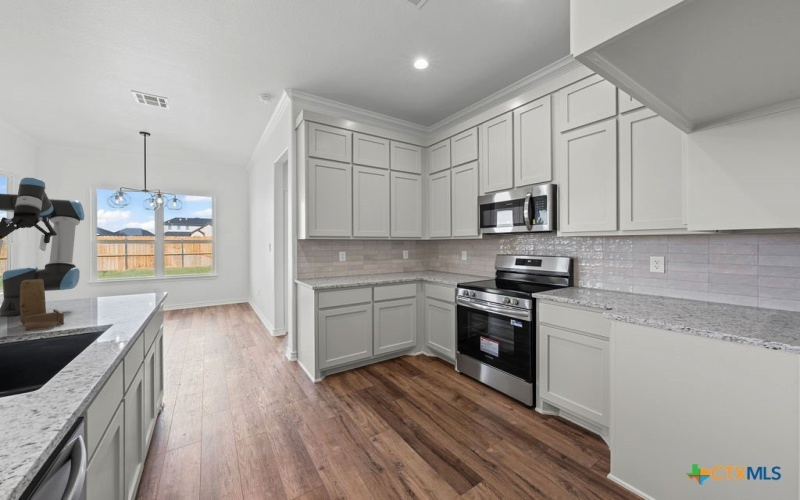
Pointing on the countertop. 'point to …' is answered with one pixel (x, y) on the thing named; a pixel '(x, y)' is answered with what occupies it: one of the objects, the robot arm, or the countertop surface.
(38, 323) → the lane backstop
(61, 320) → the lane rail
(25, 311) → the block
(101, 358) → the countertop surface
